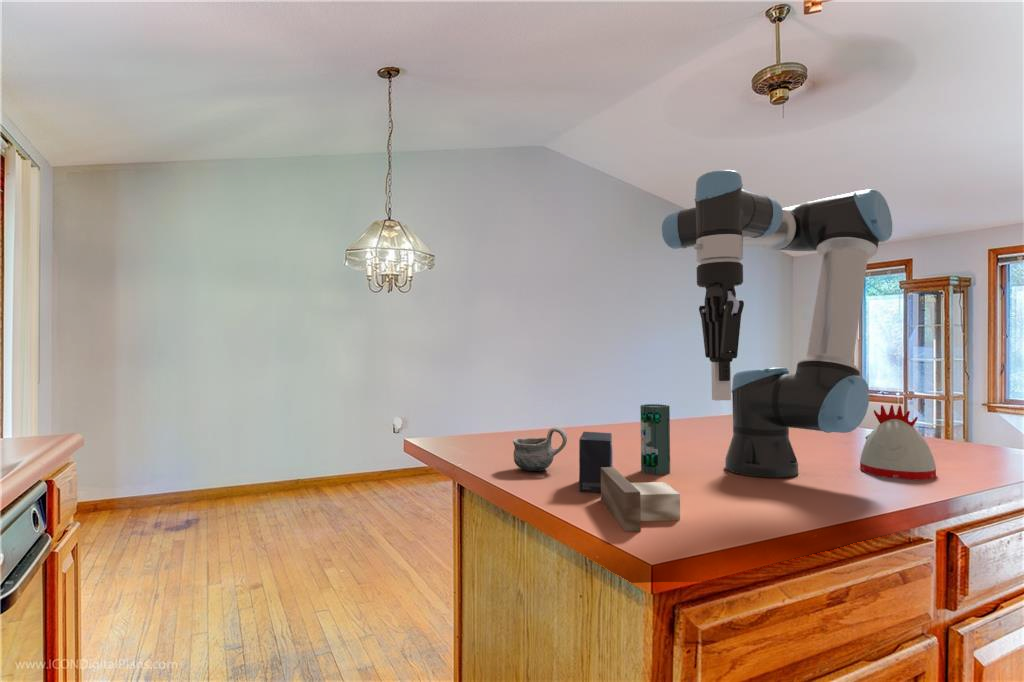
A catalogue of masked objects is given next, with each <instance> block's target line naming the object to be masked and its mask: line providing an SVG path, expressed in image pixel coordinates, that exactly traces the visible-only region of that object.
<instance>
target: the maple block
mask: <svg viewBox="0 0 1024 682" xmlns="http://www.w3.org/2000/svg"><path fill="white" fill-rule="evenodd" d="M630 483H631V484H632V485H633V486H634V487H635V488H636V489H638V490H639V491H640V506H641V522H644V521H645V522H646V521H647V522H648V521H649V522H650V521H680V520H681V494H680V492H679V491H677V490H675V489H674V488H672V487H671V486H670V485H669V484H668V483H666V482H665V481H655V482H654V481H653V482H652V481H651V482H650V481H649V482H630Z"/></svg>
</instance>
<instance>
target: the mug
mask: <svg viewBox="0 0 1024 682" xmlns="http://www.w3.org/2000/svg"><path fill="white" fill-rule="evenodd" d="M553 433H557V434H559V435H560V436H561V439H562V441H561V442H562V443H561V445H560V446H558V448H553V447H552V437H553ZM512 442H513V446H514V449H513V462H514V464H515V465H516V466H517V467H518V468H519V469H521V470H524V471H529V472H538V471H539V472H540V471H544V470H546V469H547V468H549V467H550V465H551V464H552V463H553V461H554V457H555V456H556V455H558V454H559V453H560V452H561V451H563V449H564V448H565V446H566V445H567V442H568V437H567V433H566V431H565V430H564V429H562V428H561V427H551V428H550V429H549V430H548V432H547V435H546V437H537V438H536V437H531V438H528V437H522V438H520V437H519V438H514V439H512Z"/></svg>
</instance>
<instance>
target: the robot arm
mask: <svg viewBox="0 0 1024 682" xmlns="http://www.w3.org/2000/svg"><path fill="white" fill-rule="evenodd" d="M742 181H743V180H742V176H741V174H740V172H738V171H736V170H731V169H719V170H718V169H717V170H712V171H710V172H705V173H704V174H701V175H700V176H699V177H697V180H696V181H695V197H694V202H695V204H694V205H695V206H694V207H692V208H687V209H684V210H683V209H680V210H678V211H675V212H672V213H669V214H668V215H666V216H665V217H664V219H663V221H662V224H661V236H662V239H663V241H664V243H665V244H666V245H667V246H668V248H670V249H674V250H676V249H687V248H691V247H692V248H693V249H694V250H696V262H697V263H699V264H698V265H697V267H696V284H697V286H698V287H699V288H705V297H704V305H700V306H698V307H699V308H698V312H699V315H700V318H701V327H702V328H701V329H702V336H703V345H704V356H705V358H706V359H707V358H709V361H710V362H711V400H712V401H732V438H731V440H730V444H729V446H728V450H727V453H726V456H725V459H724V460H725V461H724V463H725V464H724V465H725V466H724V467H725V469H726V471H729V472H732V473H734V474H735V473H736V474H739V475H742V476H743V475H744V476H750V477H757V478H758V477H759V478H787V477H788V478H790V477H794V476H797V475H798V474H799V463H798V460H797V457H796V454H795V451H794V448H793V446H792V443H791V440H790V434H789V433H790V430H789V429H790V428H792V429H799V430H800V429H801V430H809V431H819V432H823V433H828V434H830V433H831V434H832V433H838V434H842V433H843V434H846V433H847V434H848V433H851V432H853V431H855V430H857V428H858V427H860V425H861V423H862V422H863V420H864V419H865V417H866V414H867V411H868V408H869V404H870V403H869V402H870V394H869V391H870V390H869V384H868V382H867V381H866V379H865V378H864V377H862V376H861V370H860V369H859V367H857V366H856V365H855V364H854V356H855V350H856V349H855V348H856V341H857V336H858V335H857V334H858V330H859V322H860V314H861V308H862V300H863V295H864V294H863V293H864V287H865V279H866V273H867V267H868V260H870V259H872V258H873V257H874V256H876V255H877V254H878V249H879V244H880V243H884V242H886V241H888V240H889V239H891V237H892V235H893V220H892V219H893V218H892V214H891V210H890V207H889V205H888V202H887V200H886V199H885V197H884V195H883V194H882V192H880V191H879V190H877V189H871V188H869V189H864V190H863V189H862V190H854V191H853V192H849V193H844V194H839V195H836V196H830V197H825V198H821V199H817V200H809V201H806V202H803V203H799V204H795V205H791V206H788V207H783V208H782V206H781V204H780V203H779V202H778V201H777V200H776V199H773V198H771V197H769V196H768V195H765V194H759V193H754V192H752V191H747V190H745V189H743V186H744V185H743V182H742ZM744 246H751V247H753V246H757V247H760V246H761V247H763V248H765V249H767V250H771V251H791V252H815V251H816V252H817V254H818V255H819V256H820V257H821V258H822V260H821V265H820V266H821V267H820V273H819V278H818V283H817V289H816V297H815V303H814V308H813V313H812V314H813V315H812V320H811V321H812V322H811V327H810V333H809V334H810V335H809V338H808V339H809V341H808V345H807V351H806V352H807V353H806V357H804V358H802V359H801V360H799V361H798V362H797V365H796V369H795V373H790V372H789V369H788V367H783V366H782V367H769V368H759V369H757V368H756V369H752V370H751V369H750V370H743V371H737V372H735V374H734V375H733V377H732V378H731V373H732V371H731V362H733V360H734V359H737V358H738V353H739V352H738V351H739V342H740V333H741V332H740V331H741V320H742V313H743V310H744V306H745V303H744V300H737V298H736V296H737V293H736V289H735V287H738V286H741V285H742V284H743V283H744V265H743V264H742V263H741V262H740V261H742V260H743V259H744ZM731 381H732V382H731Z"/></svg>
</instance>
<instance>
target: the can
mask: <svg viewBox="0 0 1024 682" xmlns="http://www.w3.org/2000/svg"><path fill="white" fill-rule="evenodd" d="M639 408H640V469H641V472H642V473H643V472H644V473H643V474H647V475H652V474H655V475H656V476H657V475H658V476H659V475H660V474H665V475H669V474H670V473H671V422H670V420H671V419H670V416H671V415H670V413H671V412H670V405H669V404H668V405H667V404H659V403H658V404H657V403H656V404H655V403H653V404H651V403H649V404H648V403H647V404H640V407H639ZM668 473H669V474H668ZM660 476H661V475H660Z"/></svg>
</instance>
